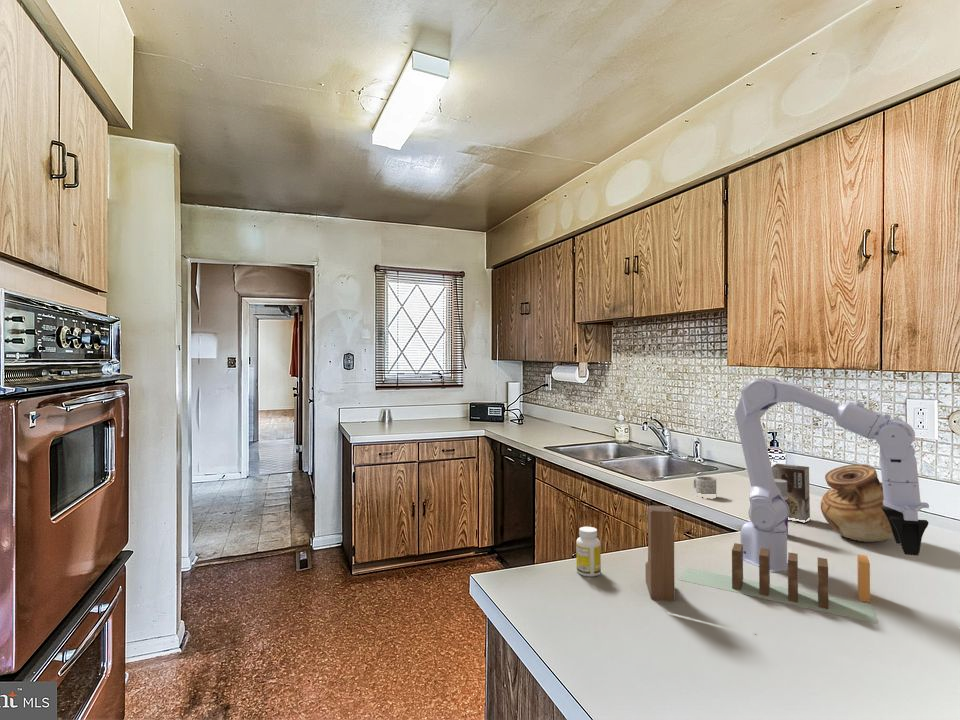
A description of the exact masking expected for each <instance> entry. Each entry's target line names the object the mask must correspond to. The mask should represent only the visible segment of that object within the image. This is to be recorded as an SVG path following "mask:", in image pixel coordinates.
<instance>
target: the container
mask: <svg viewBox="0 0 960 720" xmlns="http://www.w3.org/2000/svg"><path fill="white" fill-rule="evenodd" d="M774 480H775V484H776V486H777V487H778V488H779V490H780V491H781V495H782V498H783V499H784V500H785V502H786V503H787V504H788V493H787V481H786V480H781V479H774ZM788 521H789V520H788V517H787V519H786V520H784V522H785V525H786V527H787V535H788V536H789V522H788Z"/></svg>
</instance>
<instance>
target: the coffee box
mask: <svg viewBox="0 0 960 720" xmlns="http://www.w3.org/2000/svg"><path fill="white" fill-rule="evenodd" d="M771 467H772V472H773V476H774V479H781V480H786V481H787V493H788V507H789V516H788V517H789V518H795V519H799V520H805V521H806V520H807V519H808V518H809V517H810V518H811V505H810V503H811V502H810V499H811V498H810V467H809V466H805V465H803V466H802V465H795V464H785V463H775V464H774V465H771Z"/></svg>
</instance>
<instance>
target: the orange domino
mask: <svg viewBox="0 0 960 720" xmlns="http://www.w3.org/2000/svg"><path fill="white" fill-rule="evenodd" d="M856 557H857V560H856V561H857V566H856V567H857V595H858V599H859V601H862V602H867V603H871V569H870V568H871V567H870V566H871V564H870V560H869V557H868V555H865V554H861V553H860V554H859V553H857V556H856Z"/></svg>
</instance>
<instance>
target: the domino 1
mask: <svg viewBox="0 0 960 720" xmlns="http://www.w3.org/2000/svg"><path fill="white" fill-rule="evenodd" d="M731 577H732V589H737V590H741V587H742V584H743V579H744V561H743V544H740V543H737V542H734V544H733V546H732V548H731Z"/></svg>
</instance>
